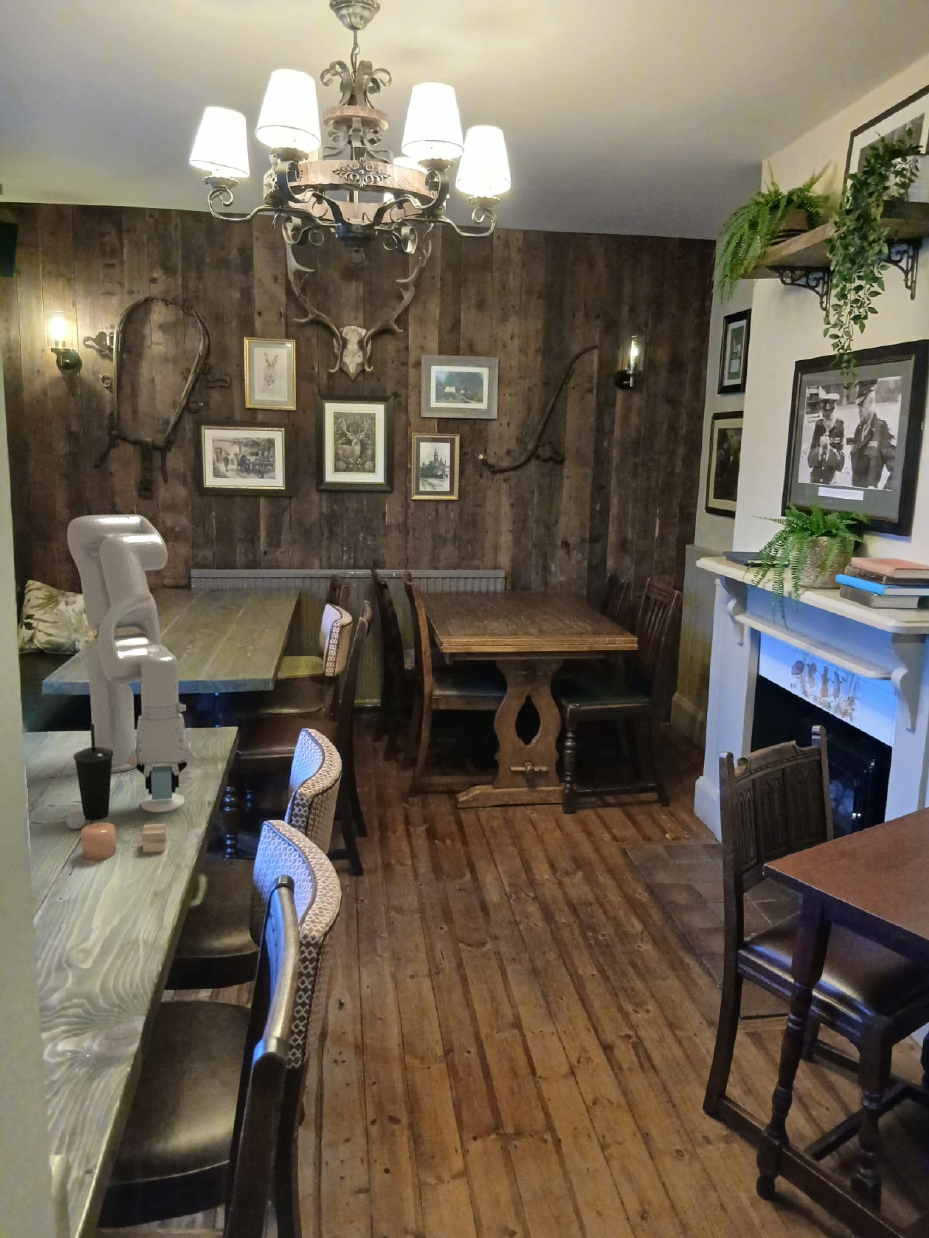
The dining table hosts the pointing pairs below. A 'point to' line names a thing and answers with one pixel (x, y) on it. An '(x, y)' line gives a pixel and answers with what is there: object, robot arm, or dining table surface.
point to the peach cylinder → (98, 841)
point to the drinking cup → (94, 779)
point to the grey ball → (75, 820)
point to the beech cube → (154, 838)
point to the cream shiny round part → (162, 803)
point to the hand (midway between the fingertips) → (162, 790)
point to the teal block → (161, 782)
